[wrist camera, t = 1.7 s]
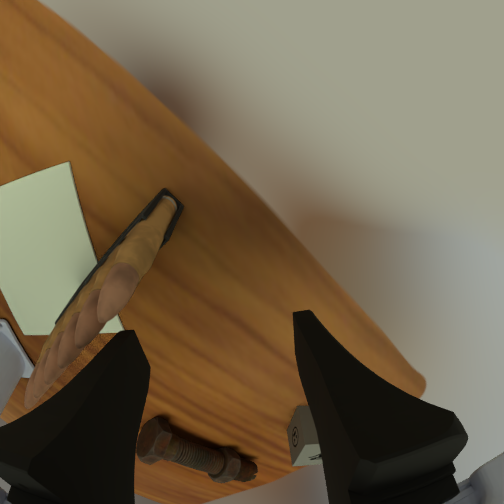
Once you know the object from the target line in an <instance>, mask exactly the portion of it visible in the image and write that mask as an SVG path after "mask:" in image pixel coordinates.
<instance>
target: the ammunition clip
mask: <svg viewBox="0 0 504 504" xmlns="http://www.w3.org/2000/svg"><path fill="white" fill-rule="evenodd" d="M183 208H184V206H183V205H182V204H181V203H180V202H179V201H178V200H177V199H176V198H175V197H174V196H173V195H172V194H171V193H170V192H169V191H168V190H167V189H166V188H164V189H162V190H161V191H160V192H159V193H158V194H157V195H156V196H155V198H154V199H153V200H152V201H151V202H150V203H149V204H148V205H147V206H146V207H145V208H144V209H143V211H142V212H141V213H140V214H139V215H138V216H137V217H136V218H135V219H134V221H133V222H132V223H131V224H130V225H129V226H128V227H127V229H126V230H125V231H124V232H123V233H122V234H121V235H120V237H119V238H118V239H117V240H116V241H115V242H114V244H113V245H112V246H111V247H110V248H109V250H108V251H107V252H106V253H105V254H104V256H103V257H102V258H101V259H100V261H99V262H98V263H97V264H96V266H95V267H94V268H93V269H92V271H91V272H90V273H89V274H88V276H87V277H86V278H85V279H84V281H83V282H82V283H81V285H80V286H79V287H78V289H77V290H76V292H75V293H74V295H73V296H72V297H71V299H70V300H69V302H68V303H67V305H66V306H65V308H64V309H63V311H62V312H61V314H60V315H59V317H58V318H57V320H56V321H55V327H54V328H53V330H52V332H51V333H50V335H49V337H48V338H47V340H46V342H45V343H44V345H43V348H42V351H41V354H40V357H39V359H38V361H37V363H36V366H35V368H34V370H33V372H32V374H31V376H30V379H29V381H28V384H27V388H26V392H25V400H24V402H25V408H26V409H29V408H31V407H32V406H34V405H35V404H36V403H37V402H38V400H39V399H40V398H41V397H42V395H43V394H44V393H45V392H46V391H47V390H48V389H49V388H50V387H51V385H52V384H53V383H54V381H55V380H57V378H58V377H59V376H60V375H61V374H62V373H63V372H64V371H65V369H66V368H67V367H68V365H69V364H71V363H72V362H73V361H74V360H75V359H76V358H77V356H78V355H79V354H80V353H81V352H82V350H83V349H84V347H85V346H86V345H88V344H89V343H90V342H91V341H92V340H93V339H94V338H95V337H96V336H97V335H98V334H99V333H100V331H101V330H102V329H103V327H104V326H105V324H106V323H107V322H108V321H110V320H111V319H113V318H114V317H115V316H116V315H117V314H118V313H119V312H120V311H121V310H122V309H123V308H124V306H125V305H126V304H127V302H128V301H129V299H130V298H131V296H132V295H133V293H134V291H135V288H136V286H137V285H138V284H139V282H140V280H141V279H142V277H143V275H144V274H145V273H146V272H147V271H148V270H149V269H150V268H151V266H152V263H153V261H154V259H155V257H156V255H157V252H158V250H159V249H160V248H161V247H162V246H163V245H164V244H165V243H166V242H167V241H168V240H169V239H170V236H171V234H172V232H173V230H174V228H175V225H176V223H177V221H178V219H179V217H180V215H181V212H182V210H183Z"/></svg>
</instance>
